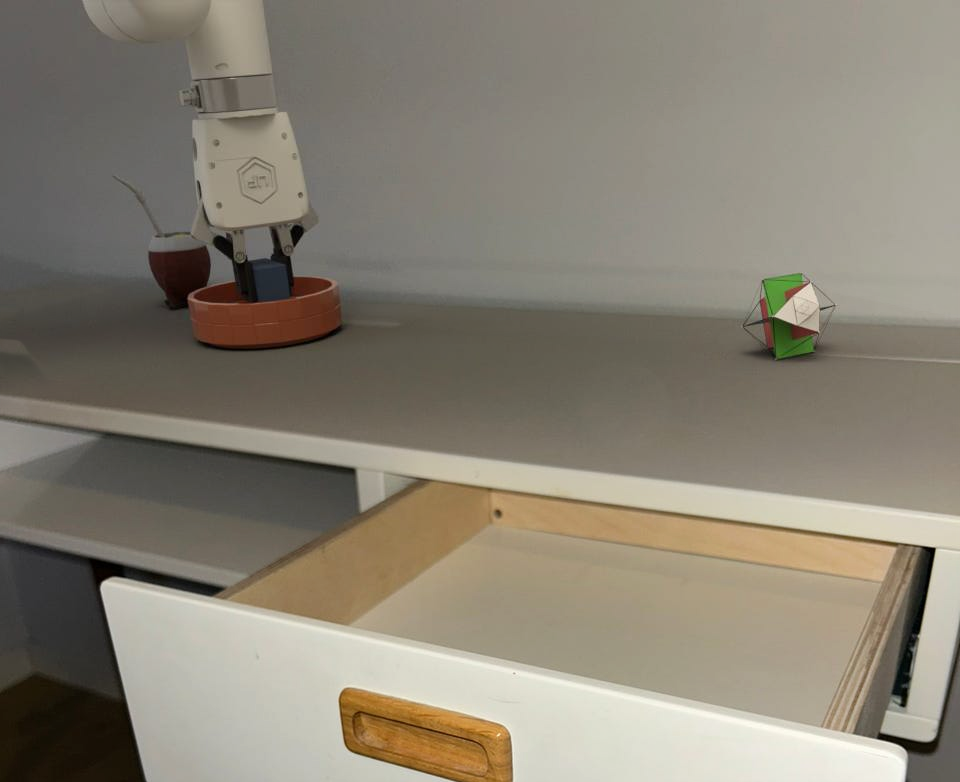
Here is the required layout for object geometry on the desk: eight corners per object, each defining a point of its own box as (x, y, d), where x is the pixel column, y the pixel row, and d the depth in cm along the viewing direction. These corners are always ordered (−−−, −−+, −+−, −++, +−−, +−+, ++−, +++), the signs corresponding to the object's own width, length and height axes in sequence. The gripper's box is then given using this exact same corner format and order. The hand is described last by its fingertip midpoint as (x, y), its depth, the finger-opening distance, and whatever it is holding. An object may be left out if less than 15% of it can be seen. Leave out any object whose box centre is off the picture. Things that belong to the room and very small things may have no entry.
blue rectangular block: (262, 305, 107) (257, 269, 106) (244, 296, 112) (238, 261, 110) (291, 300, 108) (285, 264, 107) (271, 292, 113) (266, 257, 111)
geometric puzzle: (717, 323, 95) (756, 254, 88) (778, 312, 97) (822, 244, 90) (755, 385, 92) (799, 319, 85) (817, 372, 95) (865, 307, 88)
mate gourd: (228, 299, 130) (206, 165, 123) (188, 313, 124) (163, 172, 117) (179, 297, 133) (155, 167, 126) (137, 311, 127) (109, 174, 120)
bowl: (220, 359, 103) (212, 311, 101) (179, 332, 115) (171, 289, 112) (365, 334, 109) (360, 288, 107) (311, 311, 121) (306, 270, 119)
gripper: (160, 107, 95) (200, 317, 104) (330, 92, 102) (354, 291, 110) (141, 106, 101) (180, 305, 110) (303, 92, 107) (327, 281, 116)
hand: (267, 296), depth 110 cm, fingers closed on blue rectangular block, 3 cm apart
